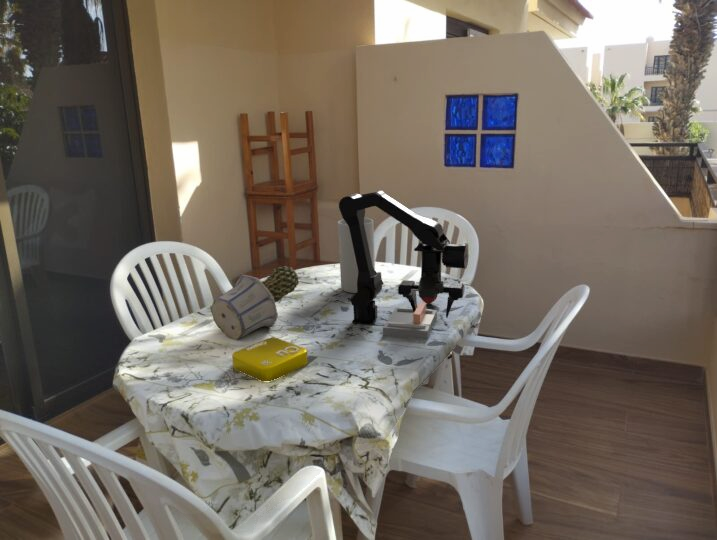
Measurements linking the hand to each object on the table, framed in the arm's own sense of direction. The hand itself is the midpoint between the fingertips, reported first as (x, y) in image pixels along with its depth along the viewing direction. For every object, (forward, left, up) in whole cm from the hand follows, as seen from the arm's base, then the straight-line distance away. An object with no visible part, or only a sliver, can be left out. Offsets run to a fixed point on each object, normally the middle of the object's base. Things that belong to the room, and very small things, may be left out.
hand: (431, 316), depth 169 cm
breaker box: (-6, 0, -4) cm, 7 cm away
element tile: (-37, -33, -4) cm, 50 cm away
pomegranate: (-4, +20, -4) cm, 21 cm away
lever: (-3, 0, -1) cm, 3 cm away
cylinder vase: (-32, +32, -4) cm, 46 cm away
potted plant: (-51, -8, -4) cm, 52 cm away
